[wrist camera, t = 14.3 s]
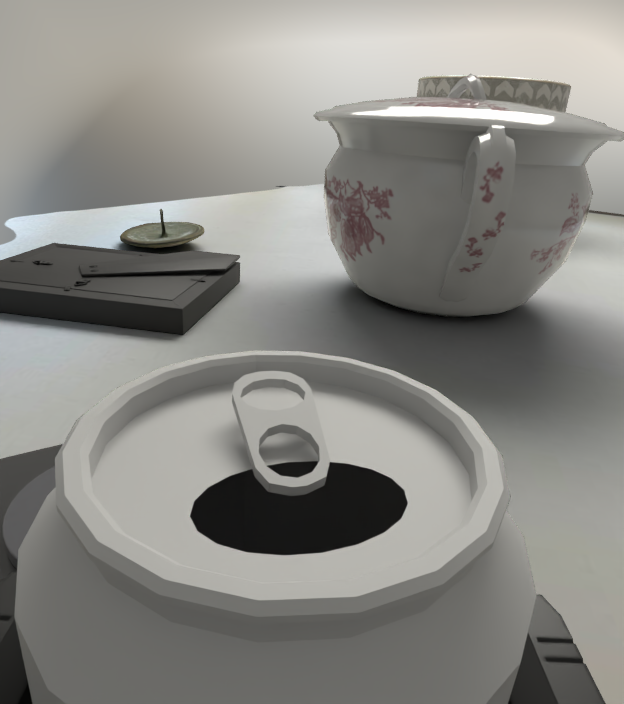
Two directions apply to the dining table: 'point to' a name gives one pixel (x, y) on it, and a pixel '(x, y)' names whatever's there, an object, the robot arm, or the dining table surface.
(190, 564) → the can
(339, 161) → the chamber pot
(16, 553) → the hob
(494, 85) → the planter
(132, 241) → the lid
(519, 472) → the dining table surface
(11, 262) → the picture frame
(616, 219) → the dining table surface
